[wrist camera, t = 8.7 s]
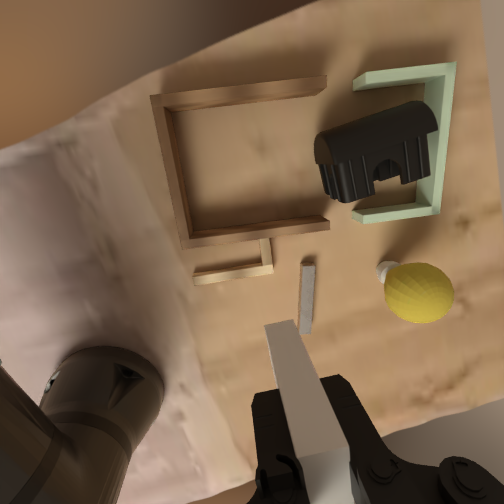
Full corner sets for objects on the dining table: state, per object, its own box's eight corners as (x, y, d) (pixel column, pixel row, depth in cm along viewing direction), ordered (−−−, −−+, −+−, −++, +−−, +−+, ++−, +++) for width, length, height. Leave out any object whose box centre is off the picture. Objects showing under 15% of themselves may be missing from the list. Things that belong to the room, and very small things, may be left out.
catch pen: (352, 218, 34) (363, 224, 31) (352, 80, 29) (365, 71, 26) (422, 209, 34) (439, 213, 31) (434, 70, 29) (456, 61, 27)
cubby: (186, 240, 33) (182, 249, 30) (159, 102, 28) (149, 95, 25) (320, 222, 34) (330, 229, 31) (315, 84, 29) (326, 75, 26)
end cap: (393, 106, 30) (437, 93, 24) (401, 170, 33) (443, 173, 26) (307, 136, 31) (327, 130, 24) (321, 197, 33) (343, 206, 27)
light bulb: (371, 239, 35) (423, 269, 26) (417, 251, 36) (483, 284, 27) (352, 286, 37) (394, 329, 28) (396, 296, 38) (451, 341, 29)
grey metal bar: (299, 261, 36) (302, 266, 34) (311, 261, 36) (315, 265, 34) (296, 327, 39) (299, 334, 37) (307, 327, 39) (310, 333, 38)
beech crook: (195, 281, 35) (194, 285, 34) (187, 246, 34) (185, 249, 33) (272, 269, 36) (273, 273, 34) (267, 234, 34) (269, 236, 33)
